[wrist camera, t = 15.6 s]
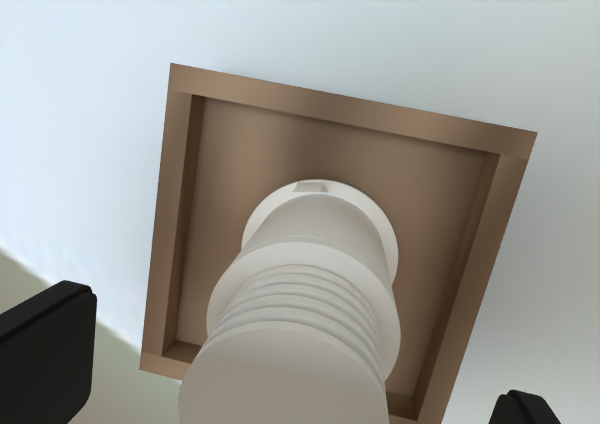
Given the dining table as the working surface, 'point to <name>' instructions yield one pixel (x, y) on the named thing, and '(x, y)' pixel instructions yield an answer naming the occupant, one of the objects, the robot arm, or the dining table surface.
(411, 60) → the dining table surface
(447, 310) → the walnut stand
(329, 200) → the downlight
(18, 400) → the robot arm
